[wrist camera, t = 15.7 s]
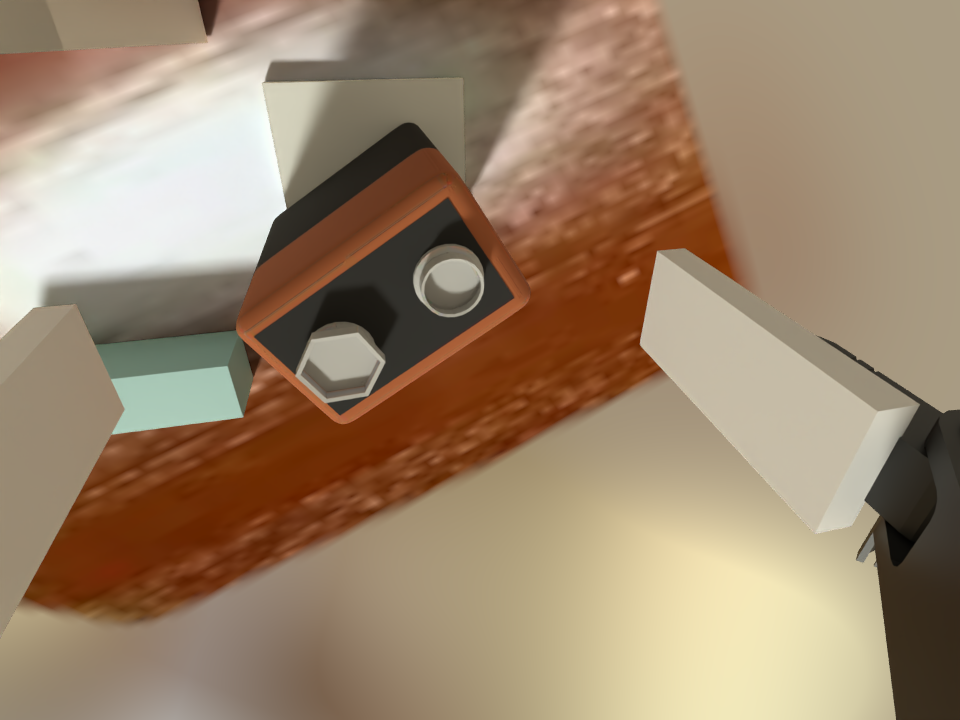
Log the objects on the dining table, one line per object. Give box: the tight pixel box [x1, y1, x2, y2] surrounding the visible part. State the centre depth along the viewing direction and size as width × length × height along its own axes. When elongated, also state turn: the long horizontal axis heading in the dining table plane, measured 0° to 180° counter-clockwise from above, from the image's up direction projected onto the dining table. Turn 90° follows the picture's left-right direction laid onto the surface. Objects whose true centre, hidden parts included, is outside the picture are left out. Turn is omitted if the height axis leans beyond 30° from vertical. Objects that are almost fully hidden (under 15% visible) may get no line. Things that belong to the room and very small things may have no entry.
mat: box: [262, 77, 466, 209], centre depth 22 cm, size 10×7×1 cm
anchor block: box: [95, 330, 253, 434], centre depth 22 cm, size 2×8×3 cm, turn 90°
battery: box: [236, 122, 531, 424], centre depth 17 cm, size 4×7×10 cm, turn 122°
